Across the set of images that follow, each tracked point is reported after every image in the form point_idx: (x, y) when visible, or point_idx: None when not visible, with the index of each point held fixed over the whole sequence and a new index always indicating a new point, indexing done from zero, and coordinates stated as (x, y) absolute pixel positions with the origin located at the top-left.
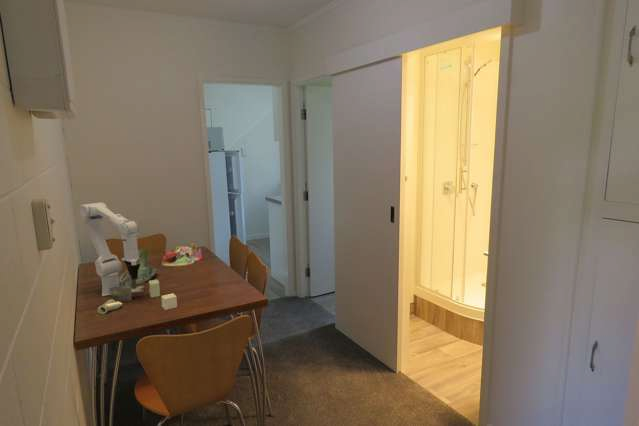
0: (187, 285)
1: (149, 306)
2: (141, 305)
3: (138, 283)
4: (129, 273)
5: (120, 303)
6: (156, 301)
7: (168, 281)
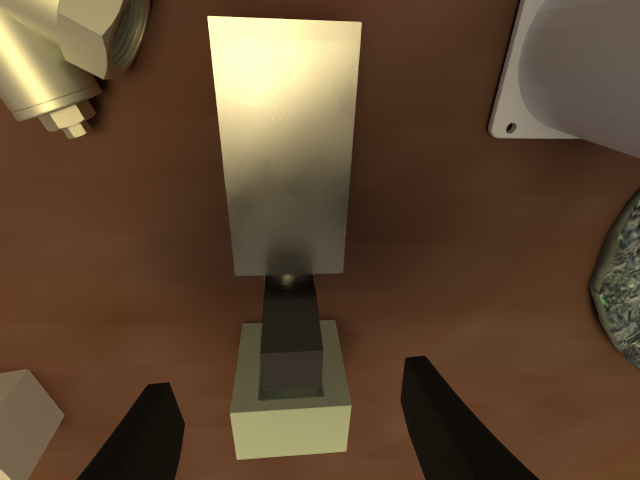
0: (354, 467)
1: (48, 309)
2: (88, 265)
3: (601, 272)
4: (415, 380)
5: (48, 124)
6: (144, 346)
7: (497, 406)
